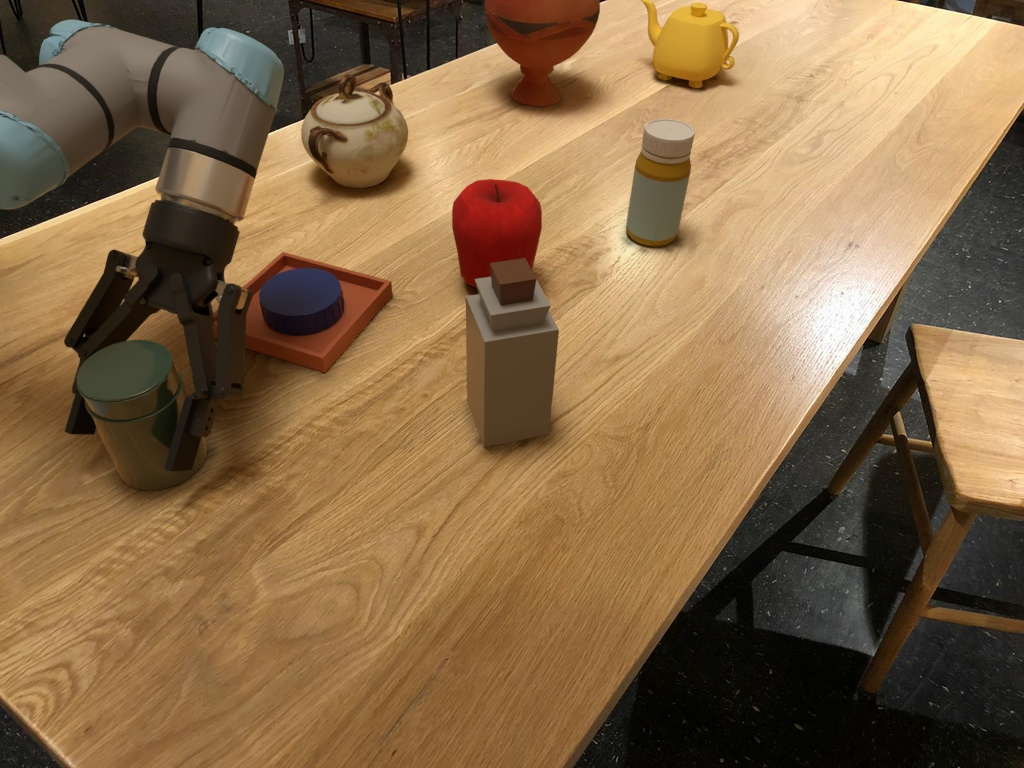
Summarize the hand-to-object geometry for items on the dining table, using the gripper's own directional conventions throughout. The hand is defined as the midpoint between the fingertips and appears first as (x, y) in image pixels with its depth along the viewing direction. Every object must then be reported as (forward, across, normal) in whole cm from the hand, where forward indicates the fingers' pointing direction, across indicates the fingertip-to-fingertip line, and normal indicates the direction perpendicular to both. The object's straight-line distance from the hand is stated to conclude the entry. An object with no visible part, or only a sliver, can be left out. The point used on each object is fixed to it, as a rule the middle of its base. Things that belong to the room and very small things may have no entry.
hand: (127, 451), depth 68 cm
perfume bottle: (-12, -28, -18) cm, 35 cm away
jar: (+1, 0, -5) cm, 5 cm away
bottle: (-40, -33, -46) cm, 69 cm away
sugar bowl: (-39, +11, -45) cm, 60 cm away
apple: (-27, -18, -33) cm, 46 cm away
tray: (-16, 0, -22) cm, 27 cm away
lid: (-18, 0, -20) cm, 27 cm away
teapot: (-81, -24, -87) cm, 121 cm away
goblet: (-66, -3, -72) cm, 97 cm away
